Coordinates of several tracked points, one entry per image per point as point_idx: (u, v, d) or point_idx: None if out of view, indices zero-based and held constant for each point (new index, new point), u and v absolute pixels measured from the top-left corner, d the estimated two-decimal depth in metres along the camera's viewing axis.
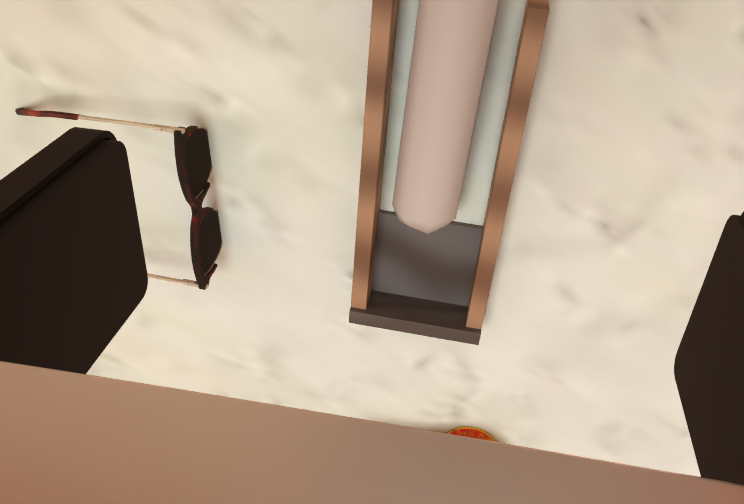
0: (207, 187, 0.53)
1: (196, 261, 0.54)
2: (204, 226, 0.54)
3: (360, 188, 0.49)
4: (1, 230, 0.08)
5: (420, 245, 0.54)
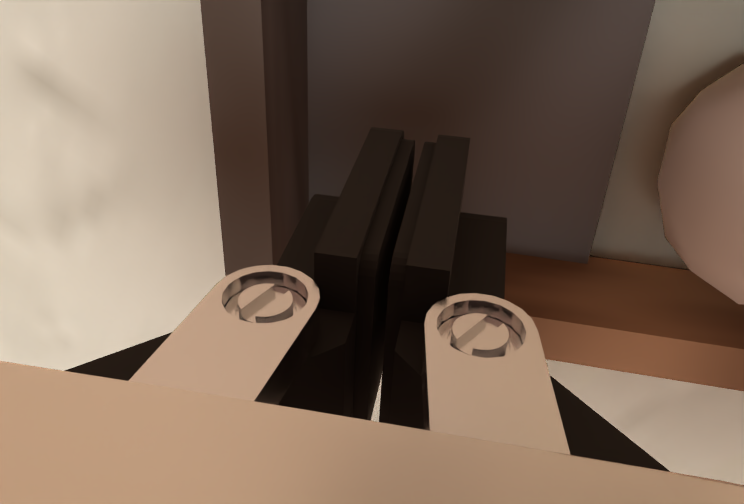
0: None
1: None
2: None
3: None
4: (378, 224, 0.09)
5: (523, 88, 0.16)
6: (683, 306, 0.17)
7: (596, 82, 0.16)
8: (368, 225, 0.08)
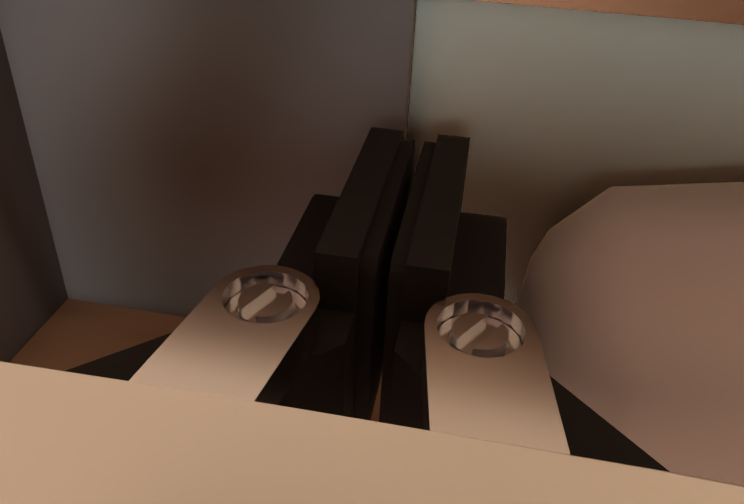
0: None
1: None
2: None
3: None
4: (378, 224, 0.09)
5: (275, 146, 0.13)
6: None
7: (359, 140, 0.12)
8: (367, 226, 0.08)
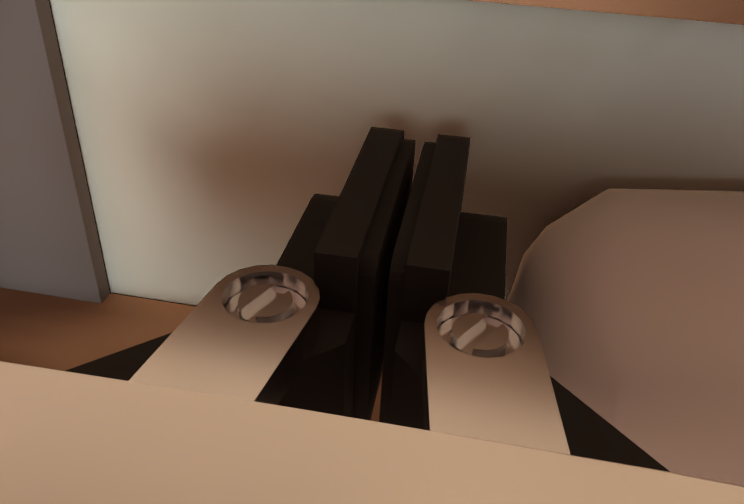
0: None
1: None
2: None
3: None
4: (378, 224, 0.09)
5: None
6: None
7: (19, 100, 0.13)
8: (368, 226, 0.08)
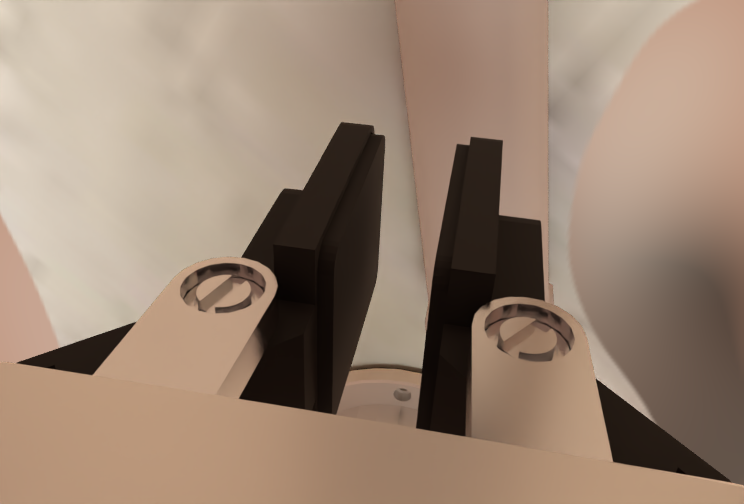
0: None
1: None
2: None
3: None
4: (340, 217, 0.09)
5: None
6: None
7: None
8: (329, 219, 0.09)
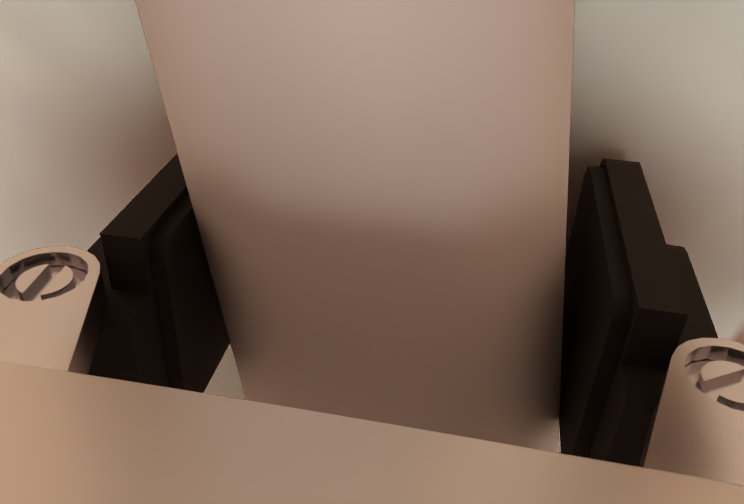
0: None
1: None
2: None
3: None
4: (183, 207, 0.09)
5: None
6: None
7: None
8: (166, 209, 0.09)
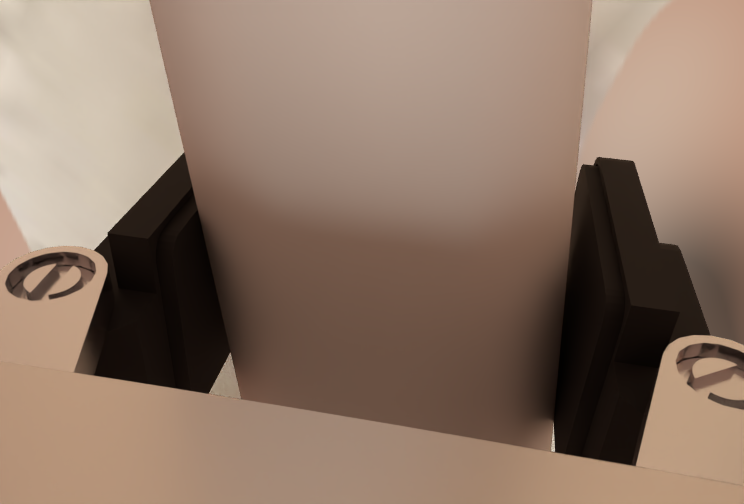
0: None
1: None
2: None
3: None
4: (190, 207, 0.09)
5: None
6: None
7: None
8: (173, 208, 0.09)
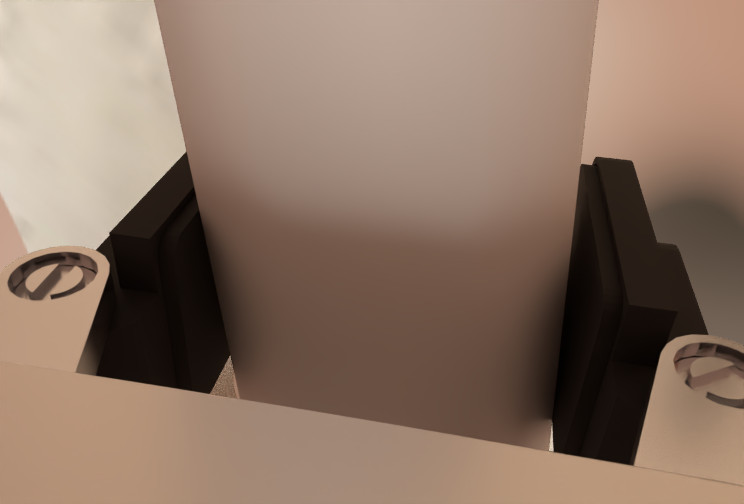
0: None
1: None
2: None
3: None
4: (191, 207, 0.09)
5: None
6: None
7: None
8: (175, 208, 0.09)
